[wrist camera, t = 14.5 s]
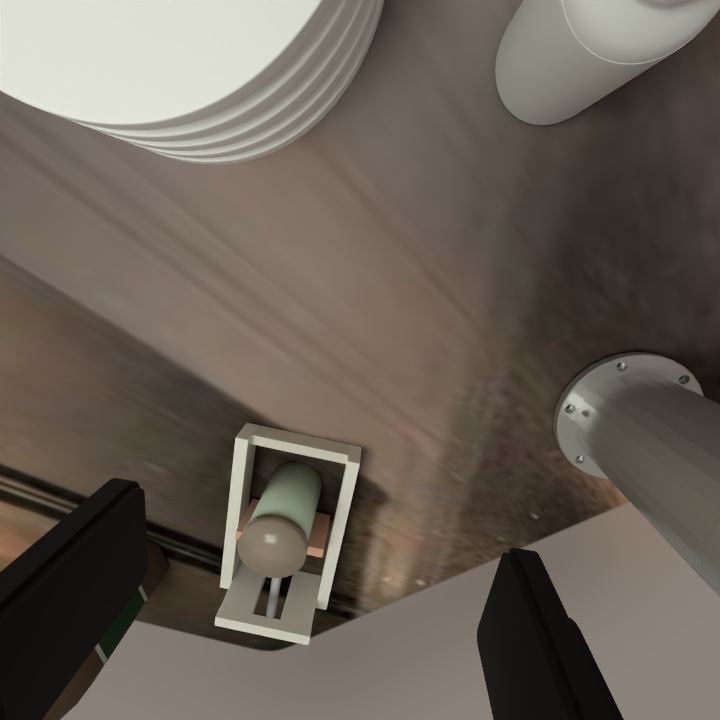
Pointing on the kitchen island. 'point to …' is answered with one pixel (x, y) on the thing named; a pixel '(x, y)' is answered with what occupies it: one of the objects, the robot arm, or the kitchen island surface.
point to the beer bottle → (110, 636)
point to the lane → (303, 585)
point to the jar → (281, 522)
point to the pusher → (314, 549)
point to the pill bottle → (587, 50)
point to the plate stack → (187, 68)
